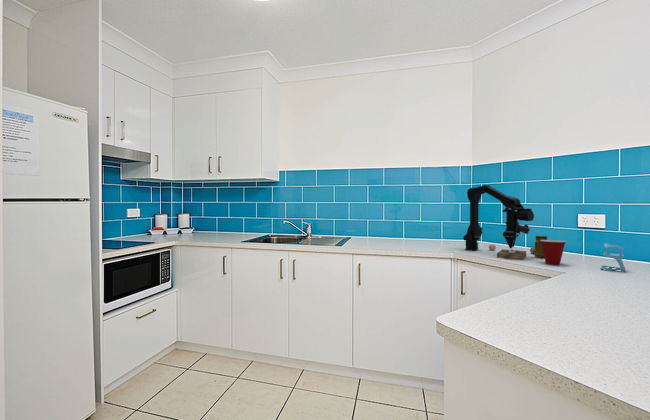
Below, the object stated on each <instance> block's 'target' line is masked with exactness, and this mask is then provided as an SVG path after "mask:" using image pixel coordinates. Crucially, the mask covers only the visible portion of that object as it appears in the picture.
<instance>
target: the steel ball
mask: <svg viewBox="0 0 650 420" xmlns="http://www.w3.org/2000/svg"><path fill="white" fill-rule="evenodd" d="M508 250H509V251H508V252H509V253H516V251H515V250H516V249H513V248H512V249H511V248H510V249H508Z"/></svg>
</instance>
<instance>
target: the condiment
mask: <svg viewBox="0 0 650 420" xmlns="http://www.w3.org/2000/svg"><path fill="white" fill-rule="evenodd" d="M540 240H548V236H546V235H535V240H534V247H535V254H534V256H532V258H534V259H535V258H536V259H543V260H545V257H544V253H543V247H542V244H541V241H540Z"/></svg>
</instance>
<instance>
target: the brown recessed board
mask: <svg viewBox="0 0 650 420" xmlns="http://www.w3.org/2000/svg"><path fill="white" fill-rule="evenodd" d="M509 250H510V249H505V248H502V249H501V250H499V251H498V252H497V253H496V258H497V257H498V259H499V258H500V259H509V260H519V261H523V260H524V259H525V258H526V256H527V250H516V249H514V250H515V251H516V253H509V252H508V251H509Z"/></svg>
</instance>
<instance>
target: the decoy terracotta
mask: <svg viewBox="0 0 650 420" xmlns="http://www.w3.org/2000/svg"><path fill="white" fill-rule="evenodd" d="M496 248H497V247H496V245H495V244H493V243H491V244H489V245H488V249H489V250H490V251H495V250H496Z"/></svg>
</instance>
